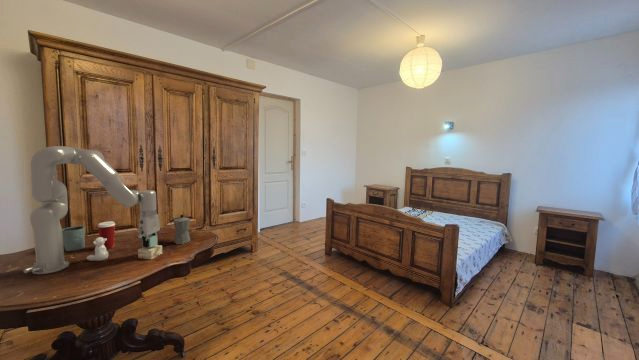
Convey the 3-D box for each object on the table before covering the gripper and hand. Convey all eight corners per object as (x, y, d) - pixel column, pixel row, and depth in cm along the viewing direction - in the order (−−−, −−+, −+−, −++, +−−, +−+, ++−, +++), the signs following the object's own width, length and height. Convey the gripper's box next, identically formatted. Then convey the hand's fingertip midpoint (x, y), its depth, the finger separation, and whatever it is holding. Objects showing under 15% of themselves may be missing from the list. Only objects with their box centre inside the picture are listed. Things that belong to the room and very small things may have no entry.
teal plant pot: (77, 251, 150) (76, 230, 148) (57, 251, 148) (55, 231, 147) (90, 244, 160) (89, 225, 158) (71, 245, 158) (70, 225, 157)
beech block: (151, 259, 142) (151, 250, 141) (138, 258, 143) (137, 249, 142) (162, 253, 150) (162, 245, 149) (149, 252, 151) (149, 244, 150)
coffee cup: (120, 245, 160) (118, 221, 158) (108, 250, 152) (106, 225, 150) (107, 244, 161) (106, 220, 159) (94, 249, 153) (93, 224, 151)
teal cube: (150, 247, 143) (150, 238, 142) (142, 246, 144) (142, 237, 143) (157, 244, 148) (157, 235, 147) (149, 243, 149) (149, 235, 148)
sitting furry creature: (107, 254, 147) (106, 233, 146) (115, 257, 143) (114, 236, 142) (86, 260, 139) (84, 238, 137) (93, 263, 135) (92, 241, 133)
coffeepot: (190, 244, 165) (190, 216, 163) (173, 246, 161) (172, 217, 159) (190, 237, 179) (189, 211, 177) (174, 238, 174) (173, 212, 172)
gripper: (142, 217, 135) (143, 251, 137) (166, 210, 151) (167, 240, 153) (129, 216, 136) (130, 250, 138) (154, 209, 153) (155, 239, 155)
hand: (149, 244), depth 146 cm, fingers closed on teal cube, 5 cm apart
